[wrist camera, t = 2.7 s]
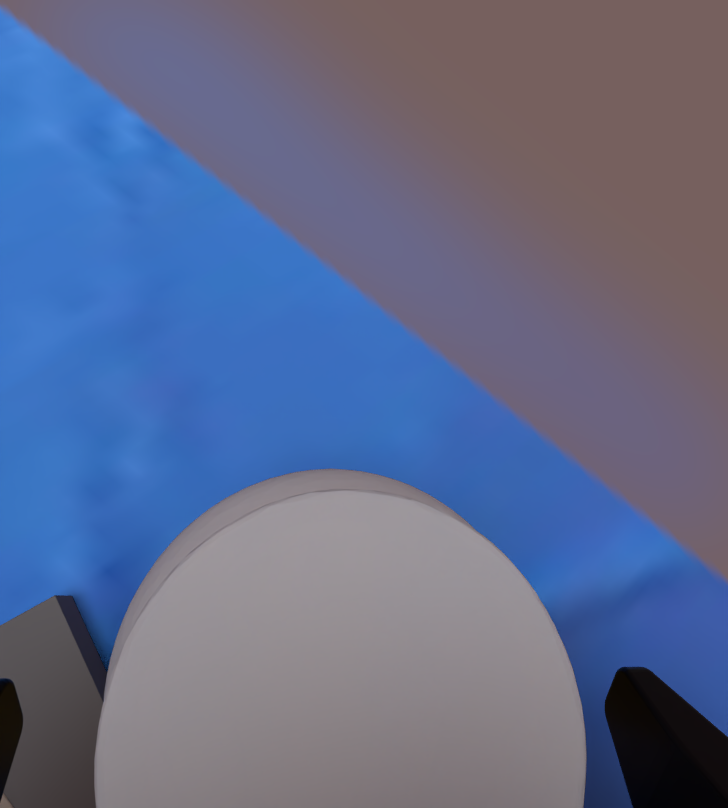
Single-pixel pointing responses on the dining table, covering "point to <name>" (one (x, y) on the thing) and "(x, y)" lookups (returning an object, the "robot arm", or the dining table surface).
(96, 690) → the panel board
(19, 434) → the dining table surface
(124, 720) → the pill bottle
